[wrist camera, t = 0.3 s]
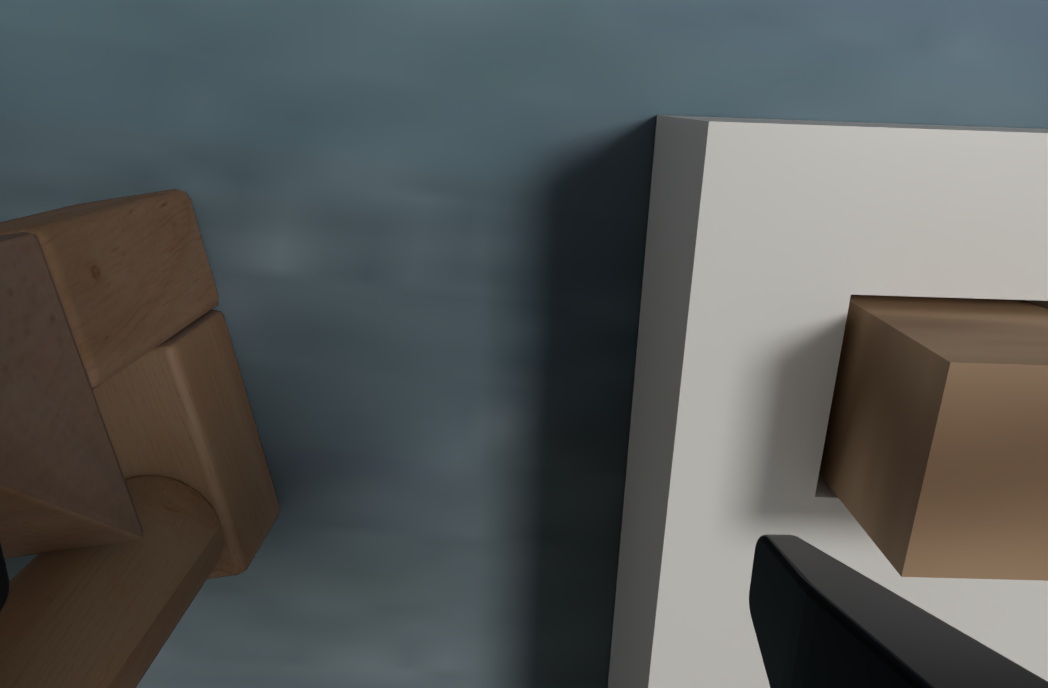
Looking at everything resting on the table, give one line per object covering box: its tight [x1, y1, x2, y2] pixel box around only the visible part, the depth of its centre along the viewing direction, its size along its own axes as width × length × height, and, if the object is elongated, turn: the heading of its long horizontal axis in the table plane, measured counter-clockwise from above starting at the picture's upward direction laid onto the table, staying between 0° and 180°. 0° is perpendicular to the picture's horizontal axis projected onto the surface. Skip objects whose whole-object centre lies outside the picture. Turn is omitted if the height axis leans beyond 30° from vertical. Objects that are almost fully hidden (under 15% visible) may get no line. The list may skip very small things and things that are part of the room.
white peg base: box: [608, 115, 1048, 688], centre depth 22 cm, size 24×12×6 cm, turn 178°
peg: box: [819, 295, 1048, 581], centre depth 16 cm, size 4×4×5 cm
